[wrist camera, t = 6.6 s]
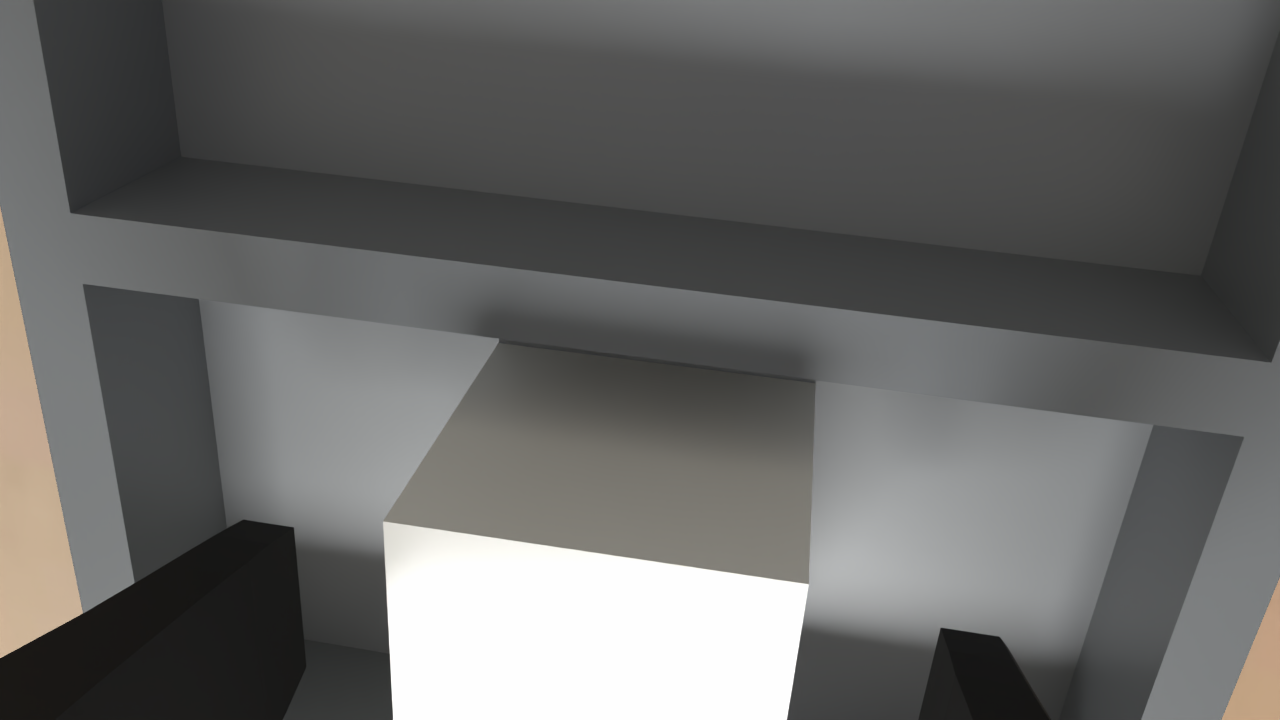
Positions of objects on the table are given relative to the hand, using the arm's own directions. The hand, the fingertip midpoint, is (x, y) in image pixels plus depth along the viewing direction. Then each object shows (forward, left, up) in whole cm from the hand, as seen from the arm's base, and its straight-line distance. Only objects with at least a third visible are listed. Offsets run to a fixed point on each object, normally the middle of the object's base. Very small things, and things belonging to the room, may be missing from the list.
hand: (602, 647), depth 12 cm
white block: (0, 0, -3) cm, 3 cm away
